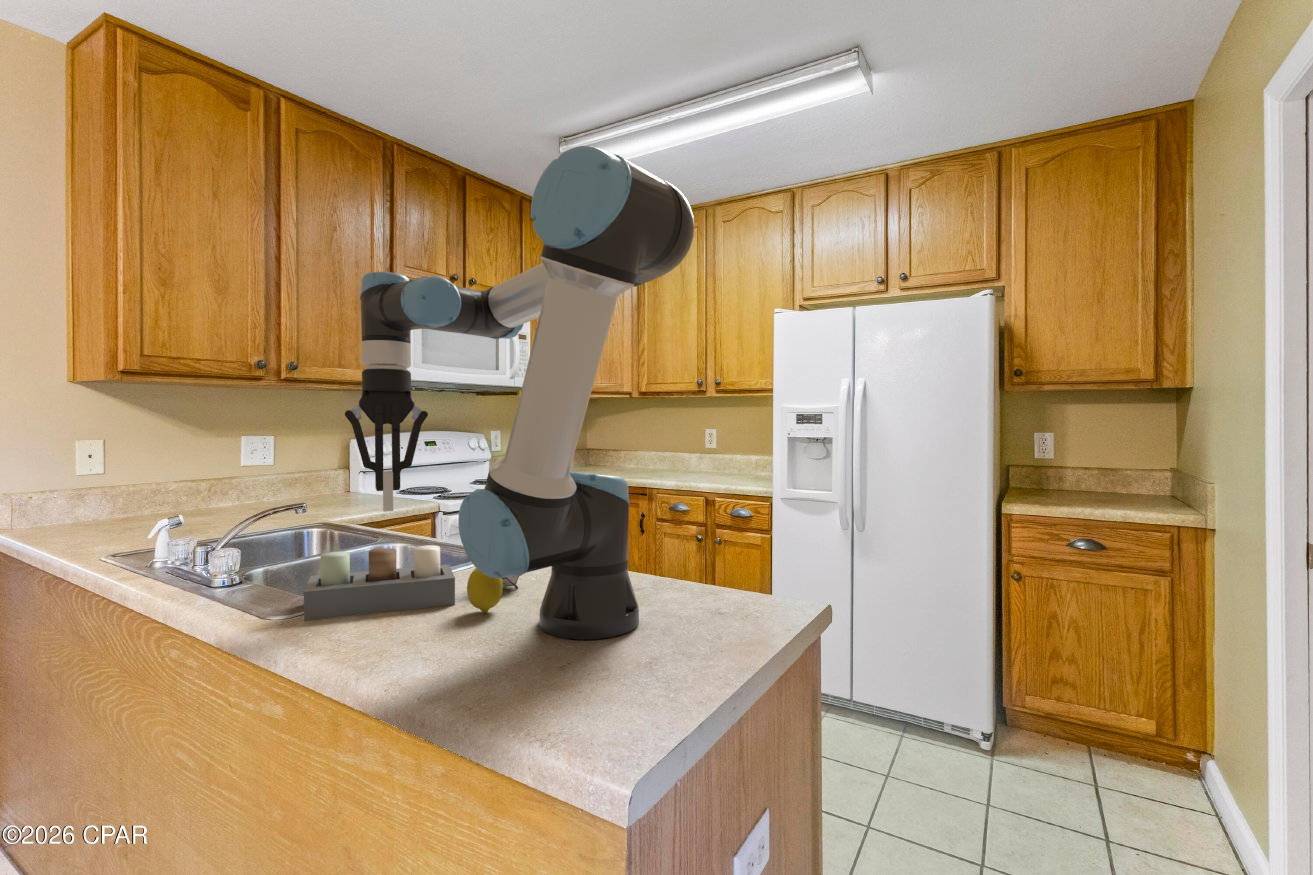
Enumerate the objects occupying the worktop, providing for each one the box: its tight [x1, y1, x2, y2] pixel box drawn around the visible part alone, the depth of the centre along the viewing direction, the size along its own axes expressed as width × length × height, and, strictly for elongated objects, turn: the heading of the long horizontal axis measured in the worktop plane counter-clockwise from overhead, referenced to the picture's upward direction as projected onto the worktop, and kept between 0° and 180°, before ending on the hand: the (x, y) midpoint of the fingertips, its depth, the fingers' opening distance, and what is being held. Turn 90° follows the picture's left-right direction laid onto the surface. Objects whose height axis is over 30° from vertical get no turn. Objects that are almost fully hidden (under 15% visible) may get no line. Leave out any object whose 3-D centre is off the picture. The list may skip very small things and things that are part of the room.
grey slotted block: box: [303, 563, 456, 622], centre depth 104 cm, size 10×22×4 cm, turn 114°
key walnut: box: [368, 547, 397, 582], centre depth 104 cm, size 4×4×7 cm
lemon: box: [466, 567, 504, 614], centre depth 100 cm, size 6×6×8 cm
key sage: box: [320, 551, 351, 586], centre depth 101 cm, size 4×4×7 cm
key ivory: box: [413, 544, 441, 578], centre depth 107 cm, size 4×4×7 cm
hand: (388, 510), depth 105 cm, fingers closed
